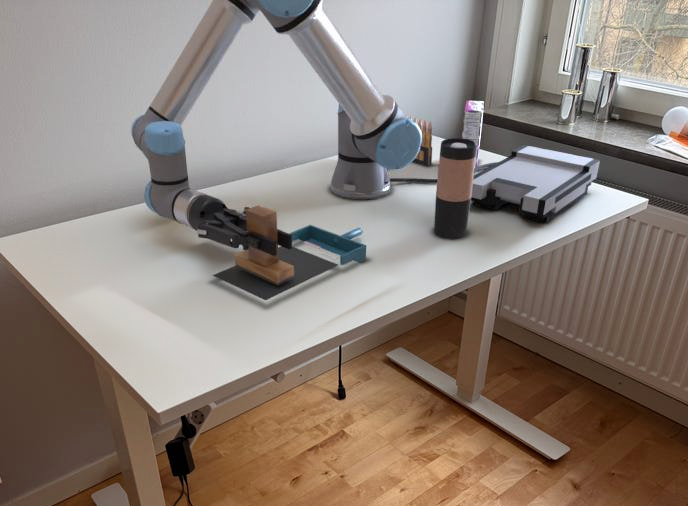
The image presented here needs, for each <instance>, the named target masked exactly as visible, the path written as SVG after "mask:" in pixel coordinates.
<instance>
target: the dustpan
mask: <svg viewBox="0 0 688 506" xmlns="http://www.w3.org/2000/svg"><path fill="white" fill-rule="evenodd" d="M288 234H291V235H292V242H294V241H297V240H299V241H302V242H304V241H307V242H310V243H312V244H315V245H317V246H320V247H322V248H321V249H322V250H324V251H328V252H330V253H332V254H335V255H337V256H340V257H339V258H340V259H339V260H340V261H339V262H340V265H341V266H343V265H345V264H347V263H349V262H352V261H353V262H356V263H358V264H359V263H363V262H365V260H366V259H367V244H365V243H362V242H358V241H356V240H353V239H354V238H356V237H359V236H361V235H362V234H363V229H362V228H361V227H357V228H354V229H352V230H350V231H348V232H345V233H343V234H337V233H334V232H331V231H329V230H326V229H323V228H320V227H319V226H315V225H312V224H309V225H306V226H304V227H301V228H299V229H296V230H293V231H292V232H288Z"/></svg>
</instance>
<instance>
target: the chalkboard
mask: <svg viewBox="0 0 688 506" xmlns="http://www.w3.org/2000/svg"><path fill="white" fill-rule="evenodd" d="M278 257H279V260H281V261H283V262H285V263H288V264H290V265H292V266H294V278H293V279H291V280H289V281H286V282H284V283H282V284H280V285H275V284H273V283H271V282H269V281H266V280H264V279H262V278H260V277H258V276H255V275H253V274H251V273H249V272H247V271H244V270H242V269H240V268H238V267H236V266H235V265H233V266H231V267H229V268H226V269H224V270H221V271H219V272H217V273H214V274H213V275H212V277H215V278H217V279H218V280H221V281H224V282H225V283H227V284H230V285H232V286H234V287H236V288H239V289H240V290H243V291H245V292H247V293H249V294H251V295H253V296H255V297H258V298H260V299H261V300H264V301H267V300H269V299H271V298H273V297H276V296H278V295H280V294H283V293H284V292H286V291H288V290H291V289H292V288H294V287H296V286H299V285H301V284H303V283H304V282H307V281H309V280H310V279H313V278H315V277H317V276H319V275H321V274H324V273H326V272H328V271H330V270H332V269H334V268H336V267H338V266H339V264H338V263H335V262H333V261H330V260H327V259H325V258H322V257H320V256H317V255H315V254H313V253H310V252H307V251H305V250H303V249H299V248H298V247H295V246H292V248H291V249H287V248H284V247H282V246H278Z"/></svg>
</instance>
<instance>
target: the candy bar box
mask: <svg viewBox="0 0 688 506" xmlns="http://www.w3.org/2000/svg"><path fill="white" fill-rule="evenodd" d="M484 104H485V102H484V100H483V101H482V100H466V103H465V107H464V114H463V124H462V135H461V138H462V139H468V140H472V141H474V142H475V145H477V148H476V158H475V167H474V168H475V169H477V167H478V164H479V163H478V162H479V155H480V154H479V153H480V145H481V144H480V143H481V135H482V126H483V116H484Z"/></svg>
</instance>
